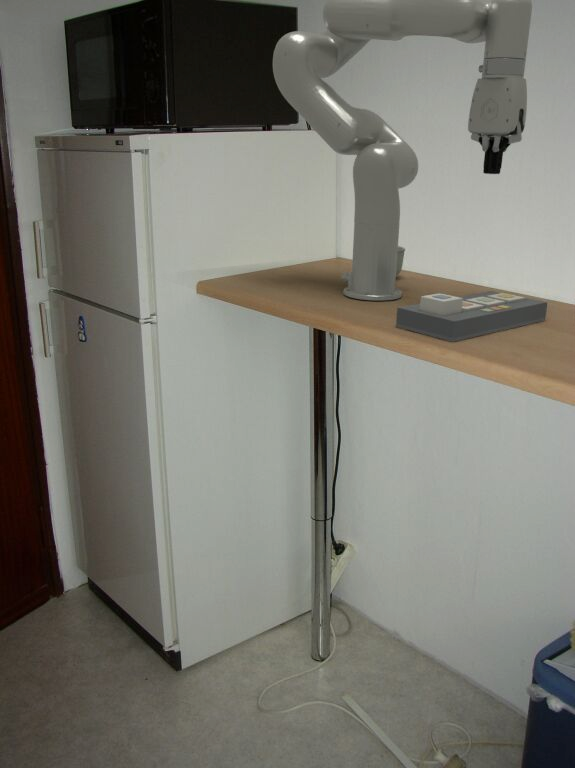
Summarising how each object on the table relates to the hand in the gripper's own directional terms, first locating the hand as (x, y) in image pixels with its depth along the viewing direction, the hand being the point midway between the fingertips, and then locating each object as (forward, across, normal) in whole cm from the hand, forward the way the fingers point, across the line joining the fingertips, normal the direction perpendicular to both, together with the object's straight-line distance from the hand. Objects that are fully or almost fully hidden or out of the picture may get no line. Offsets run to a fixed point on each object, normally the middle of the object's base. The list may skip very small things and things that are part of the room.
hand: (491, 173), depth 147 cm
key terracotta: (+26, +7, -14) cm, 30 cm away
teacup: (+27, -36, +8) cm, 46 cm away
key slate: (+24, +7, -21) cm, 32 cm away
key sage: (+26, +7, -8) cm, 28 cm away
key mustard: (+26, +7, -1) cm, 27 cm away
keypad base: (+27, +7, -11) cm, 30 cm away
